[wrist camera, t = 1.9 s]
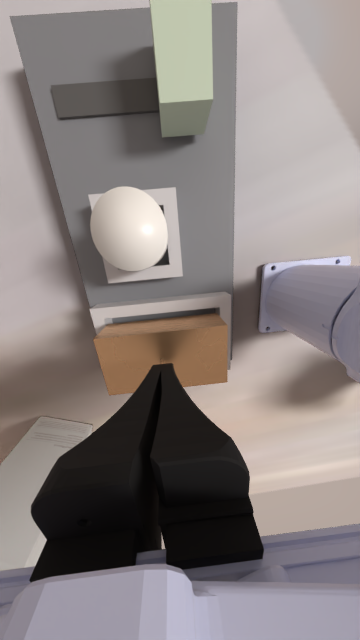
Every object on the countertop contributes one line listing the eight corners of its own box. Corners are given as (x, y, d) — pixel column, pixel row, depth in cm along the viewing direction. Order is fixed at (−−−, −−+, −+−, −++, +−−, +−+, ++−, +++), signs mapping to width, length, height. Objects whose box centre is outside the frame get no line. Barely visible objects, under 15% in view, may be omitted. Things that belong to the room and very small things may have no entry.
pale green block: (200, 28, 10) (210, -50, 8) (203, 134, 12) (213, 99, 10) (151, 32, 10) (145, -46, 8) (162, 137, 12) (159, 102, 9)
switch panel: (225, 49, 13) (249, -48, 9) (225, 349, 22) (237, 369, 18) (39, 61, 13) (-23, -32, 9) (115, 360, 21) (102, 384, 17)
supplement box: (39, 414, 24) (-94, 571, 12) (94, 423, 25) (23, 576, 13) (37, 450, 26) (-78, 613, 14) (87, 457, 27) (21, 614, 15)
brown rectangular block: (216, 313, 15) (227, 325, 12) (217, 361, 17) (227, 382, 14) (107, 324, 15) (92, 339, 12) (119, 372, 16) (109, 395, 14)
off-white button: (164, 201, 12) (162, 183, 9) (170, 266, 13) (171, 267, 11) (102, 206, 12) (80, 189, 9) (115, 271, 13) (100, 274, 11)
